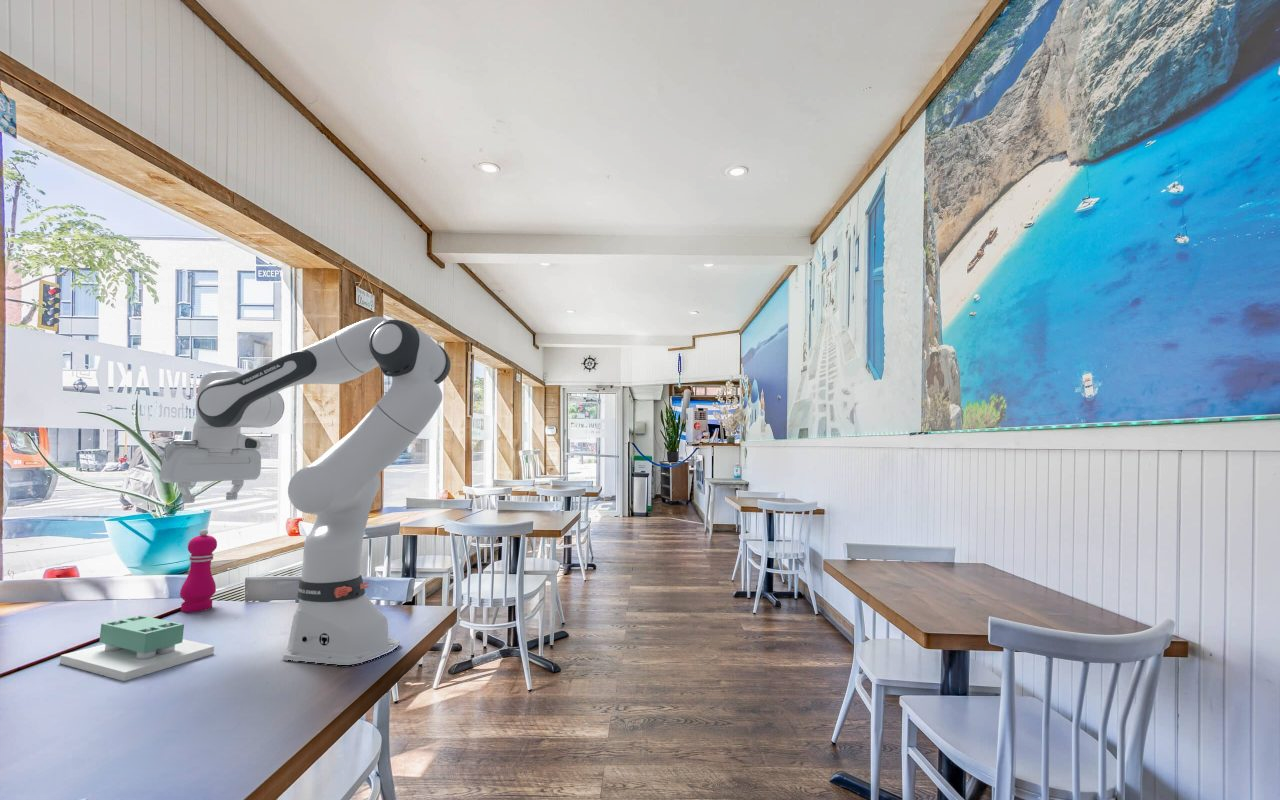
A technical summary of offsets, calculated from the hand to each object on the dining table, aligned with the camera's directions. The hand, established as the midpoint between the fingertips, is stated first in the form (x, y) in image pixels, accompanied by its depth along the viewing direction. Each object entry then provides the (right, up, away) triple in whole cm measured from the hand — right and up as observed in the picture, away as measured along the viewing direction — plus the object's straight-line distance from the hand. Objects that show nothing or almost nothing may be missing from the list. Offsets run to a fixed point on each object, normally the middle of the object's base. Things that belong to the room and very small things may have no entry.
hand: (210, 501), depth 130 cm
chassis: (+1, -27, -19) cm, 33 cm away
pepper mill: (-14, -30, +14) cm, 36 cm away
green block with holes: (+1, -24, -19) cm, 31 cm away
